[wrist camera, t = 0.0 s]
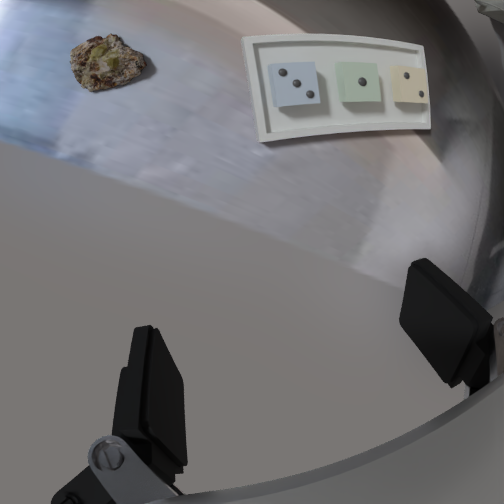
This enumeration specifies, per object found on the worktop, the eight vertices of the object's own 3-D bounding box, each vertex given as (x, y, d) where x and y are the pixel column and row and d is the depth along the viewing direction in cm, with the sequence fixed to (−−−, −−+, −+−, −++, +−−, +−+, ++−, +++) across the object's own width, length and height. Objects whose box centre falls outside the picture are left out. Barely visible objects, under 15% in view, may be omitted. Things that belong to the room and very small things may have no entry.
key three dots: (267, 66, 30) (271, 63, 29) (308, 63, 31) (315, 61, 29) (273, 107, 33) (277, 106, 31) (314, 103, 34) (320, 103, 32)
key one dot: (334, 63, 31) (341, 61, 29) (369, 64, 32) (377, 63, 30) (339, 101, 34) (346, 101, 32) (373, 101, 34) (381, 101, 32)
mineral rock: (58, 91, 27) (69, 32, 22) (71, 84, 30) (83, 30, 25) (133, 101, 30) (150, 40, 25) (141, 94, 33) (157, 39, 28)
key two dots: (389, 66, 32) (398, 65, 30) (416, 69, 32) (425, 69, 31) (393, 101, 35) (402, 102, 33) (420, 102, 35) (428, 103, 33)
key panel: (240, 40, 30) (243, 37, 28) (415, 46, 32) (423, 45, 31) (256, 140, 37) (259, 142, 35) (423, 127, 39) (430, 129, 37)
